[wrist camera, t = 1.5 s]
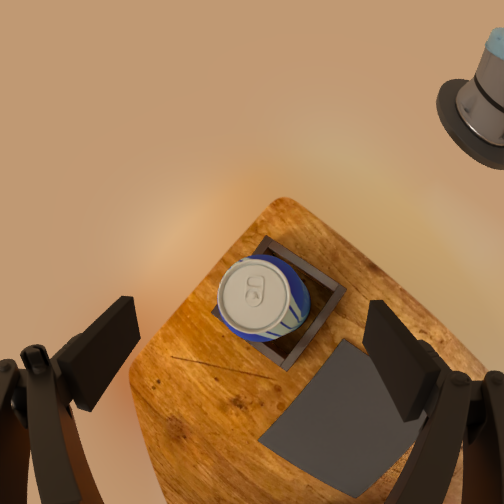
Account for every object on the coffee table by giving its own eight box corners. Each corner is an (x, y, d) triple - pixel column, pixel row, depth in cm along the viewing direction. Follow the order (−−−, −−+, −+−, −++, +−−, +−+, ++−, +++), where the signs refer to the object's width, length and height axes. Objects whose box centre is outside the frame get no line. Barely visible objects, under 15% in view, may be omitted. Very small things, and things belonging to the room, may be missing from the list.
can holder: (345, 291, 38) (347, 289, 34) (290, 366, 37) (286, 371, 33) (271, 242, 42) (265, 234, 38) (221, 313, 41) (210, 312, 38)
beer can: (323, 302, 38) (321, 294, 23) (281, 345, 38) (252, 363, 23) (280, 262, 41) (252, 230, 26) (241, 304, 41) (190, 296, 26)
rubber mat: (442, 405, 30) (443, 406, 29) (355, 497, 29) (355, 498, 29) (343, 338, 36) (343, 338, 36) (258, 439, 36) (257, 440, 35)
